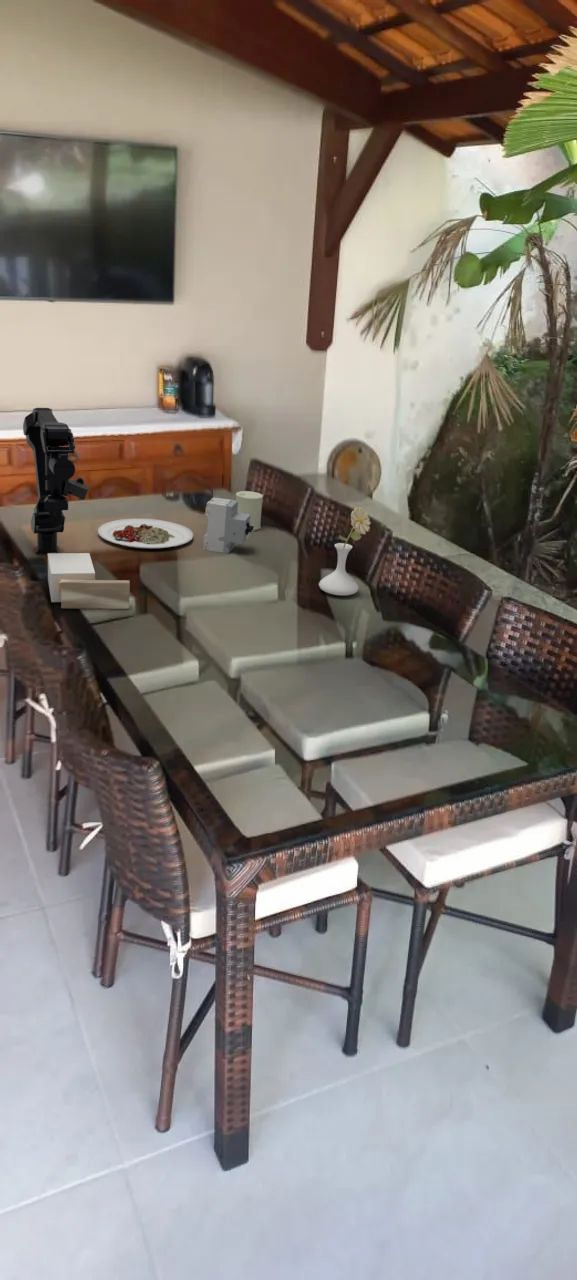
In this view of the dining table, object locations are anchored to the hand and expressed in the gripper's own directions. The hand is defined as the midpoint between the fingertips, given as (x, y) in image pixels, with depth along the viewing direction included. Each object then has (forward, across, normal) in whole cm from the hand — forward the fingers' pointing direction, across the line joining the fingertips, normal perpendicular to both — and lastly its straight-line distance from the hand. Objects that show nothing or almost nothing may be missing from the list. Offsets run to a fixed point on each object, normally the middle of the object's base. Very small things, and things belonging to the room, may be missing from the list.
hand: (56, 526), depth 256 cm
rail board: (+12, -30, -10) cm, 34 cm away
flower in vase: (+12, -17, -79) cm, 82 cm away
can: (+12, +43, -62) cm, 76 cm away
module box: (+12, -18, -4) cm, 22 cm away
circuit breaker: (+12, +19, -52) cm, 57 cm away
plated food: (+12, +30, -27) cm, 42 cm away
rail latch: (+9, -27, -5) cm, 29 cm away
